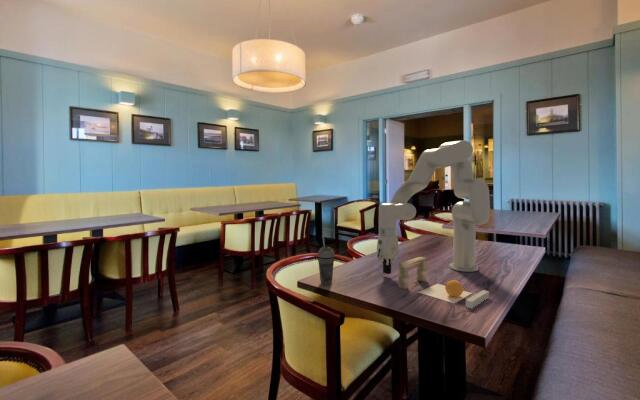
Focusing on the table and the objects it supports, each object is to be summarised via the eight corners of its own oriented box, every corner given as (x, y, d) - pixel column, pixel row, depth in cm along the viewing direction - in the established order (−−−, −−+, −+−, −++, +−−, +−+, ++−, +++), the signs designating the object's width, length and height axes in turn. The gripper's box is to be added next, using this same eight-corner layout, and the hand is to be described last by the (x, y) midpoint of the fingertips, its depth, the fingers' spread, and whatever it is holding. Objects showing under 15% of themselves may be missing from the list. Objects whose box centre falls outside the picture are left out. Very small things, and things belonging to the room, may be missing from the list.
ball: (466, 296, 120) (450, 294, 124) (465, 279, 120) (448, 278, 125) (459, 299, 116) (443, 297, 120) (458, 281, 116) (441, 280, 120)
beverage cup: (333, 287, 131) (333, 238, 129) (315, 286, 132) (315, 237, 130) (336, 281, 138) (336, 234, 136) (319, 280, 139) (318, 234, 138)
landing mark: (437, 284, 133) (437, 283, 133) (472, 293, 123) (472, 293, 123) (418, 292, 124) (418, 292, 124) (454, 303, 114) (454, 303, 114)
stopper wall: (483, 296, 120) (483, 289, 120) (488, 298, 118) (489, 291, 118) (465, 307, 111) (465, 300, 111) (471, 309, 109) (471, 301, 109)
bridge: (398, 287, 130) (399, 263, 129) (419, 278, 140) (420, 256, 139) (405, 289, 128) (405, 264, 127) (426, 280, 138) (426, 257, 137)
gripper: (383, 235, 134) (383, 278, 136) (404, 230, 144) (404, 271, 146) (369, 232, 140) (369, 274, 142) (390, 228, 150) (390, 267, 151)
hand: (387, 273), depth 144 cm, fingers closed
